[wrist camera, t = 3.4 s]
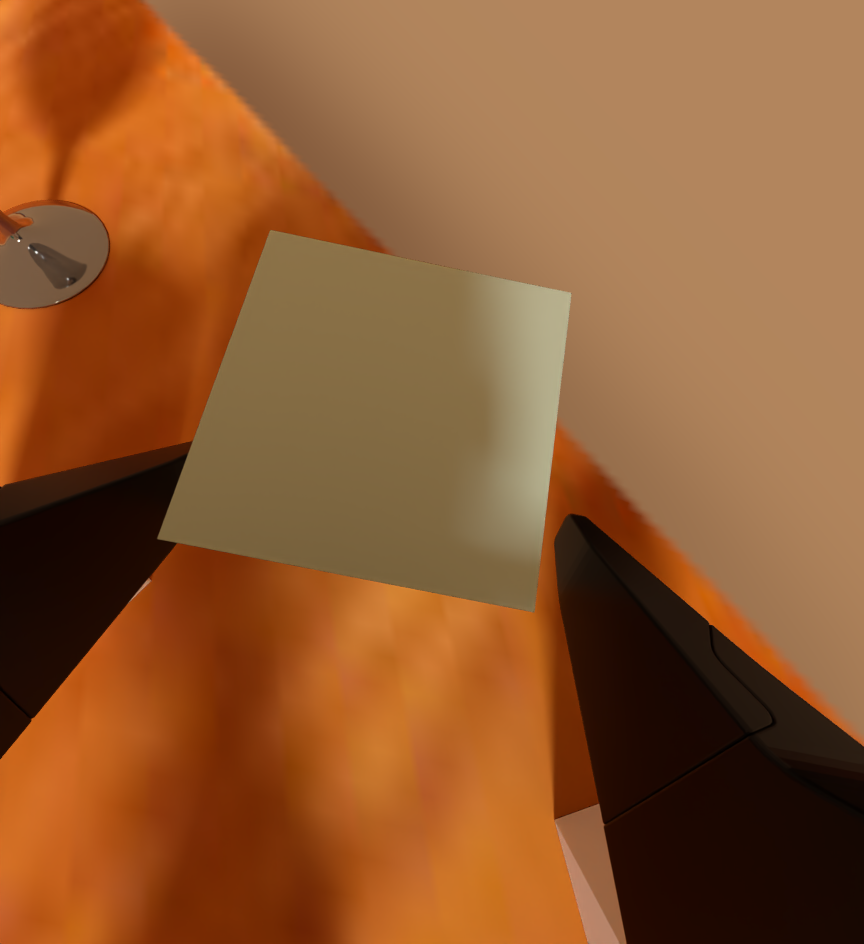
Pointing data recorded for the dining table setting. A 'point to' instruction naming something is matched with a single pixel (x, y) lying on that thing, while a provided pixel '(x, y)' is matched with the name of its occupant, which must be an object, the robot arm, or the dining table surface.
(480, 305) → the sage block
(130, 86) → the dining table surface
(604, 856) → the pale pink tall block
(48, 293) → the wine glass
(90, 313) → the dining table surface
